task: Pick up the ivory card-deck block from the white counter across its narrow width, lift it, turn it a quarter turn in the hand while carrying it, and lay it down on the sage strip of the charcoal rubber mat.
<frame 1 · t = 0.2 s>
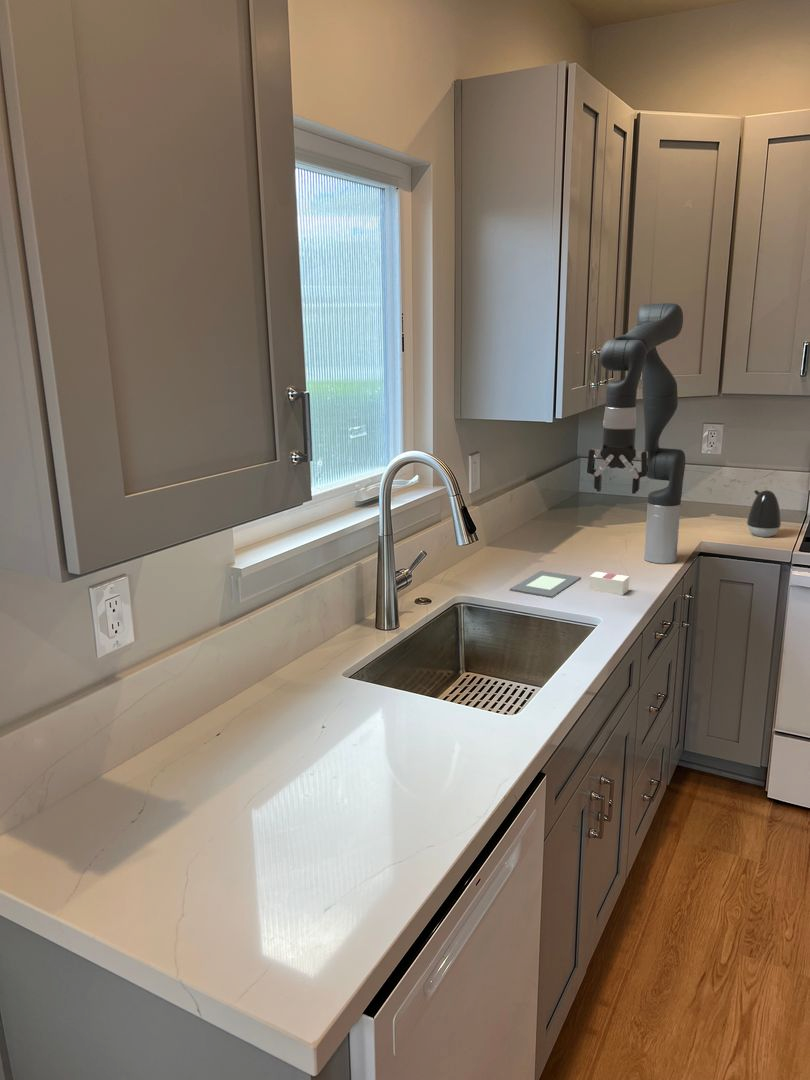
hand: (616, 492, 195), 28 cm above the worktop, tool pointing down, fingers open, 8 cm apart
mat: (546, 584, 215), on the worktop
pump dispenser: (762, 535, 265), on the worktop
card deck: (608, 590, 210), on the worktop
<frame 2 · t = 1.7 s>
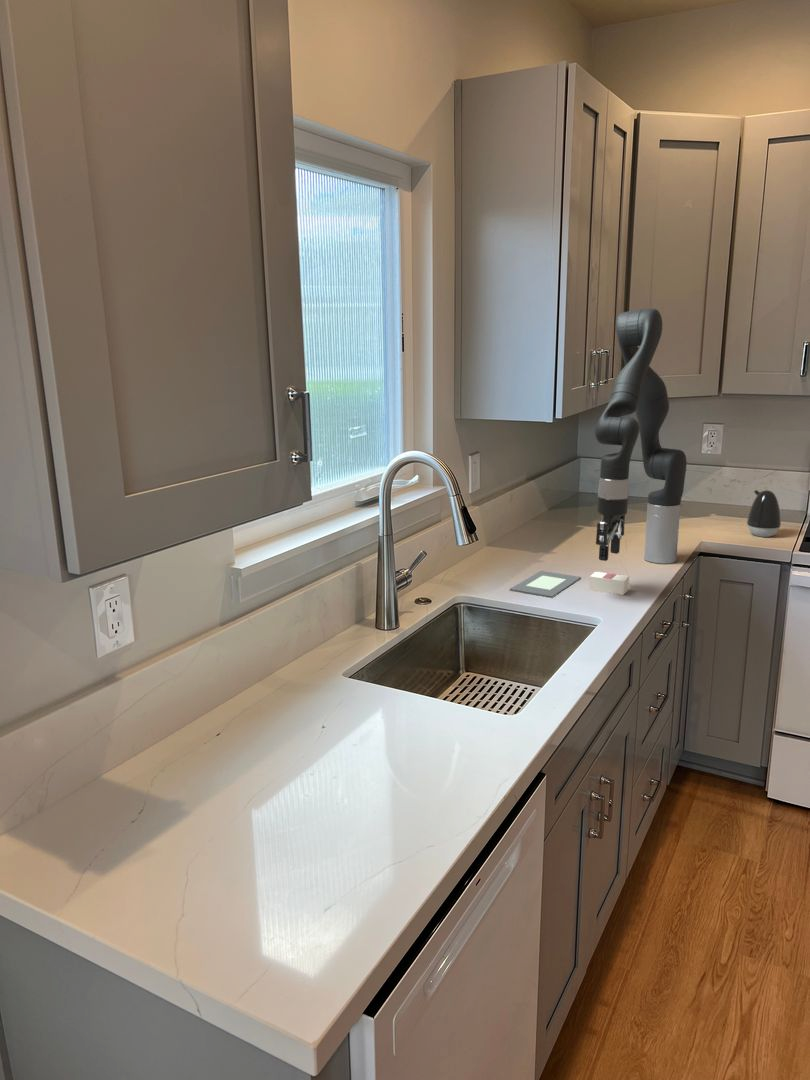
hand: (609, 556, 207), 9 cm above the worktop, tool pointing down, fingers open, 8 cm apart
nothing on the worktop moved.
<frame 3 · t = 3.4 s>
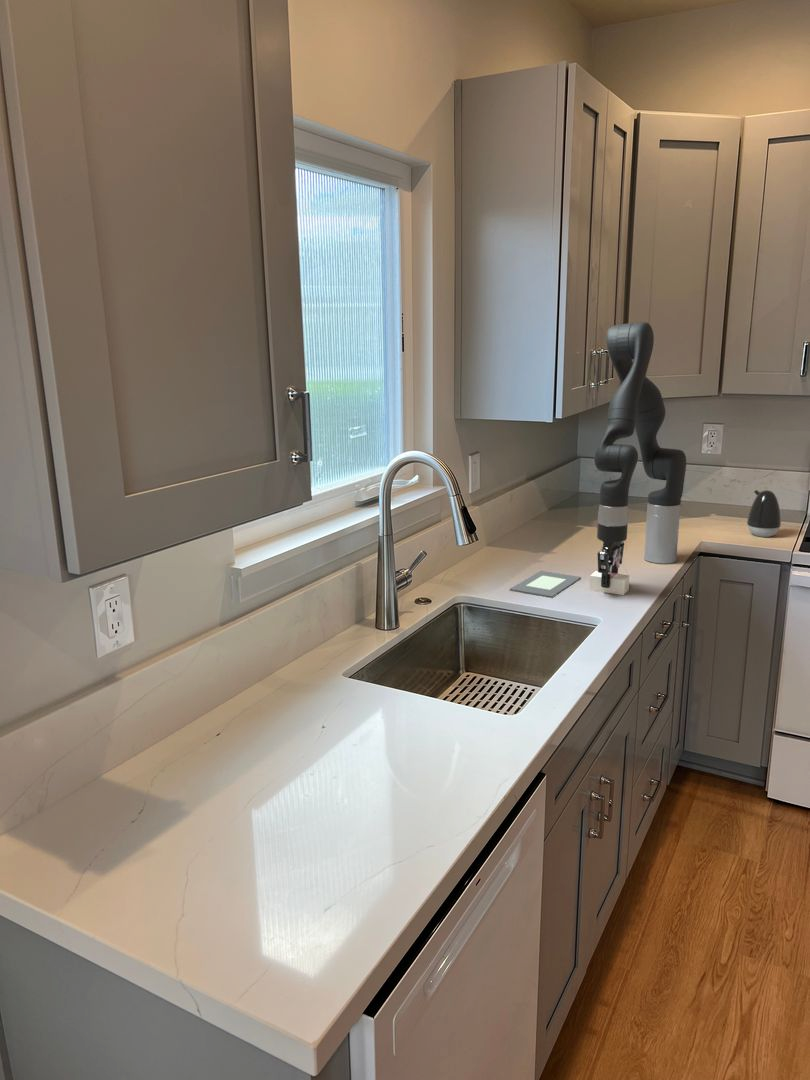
hand: (609, 584, 209), 2 cm above the worktop, tool pointing down, fingers closed on card deck, 5 cm apart
card deck: (609, 590, 210), on the worktop, touching gripper
everything else where it was.
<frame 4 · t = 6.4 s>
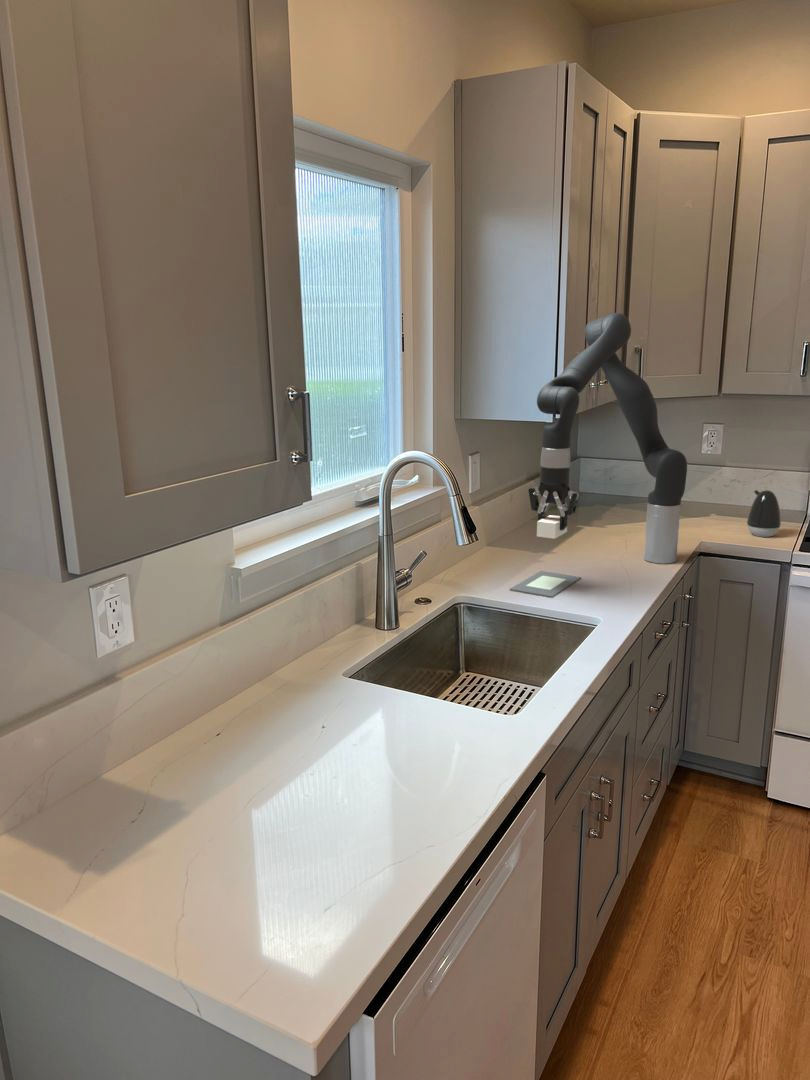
hand: (552, 528, 210), 16 cm above the worktop, tool pointing down, fingers closed on card deck, 5 cm apart
card deck: (551, 534, 211), point 14 cm above the worktop, touching gripper
everything else where it was.
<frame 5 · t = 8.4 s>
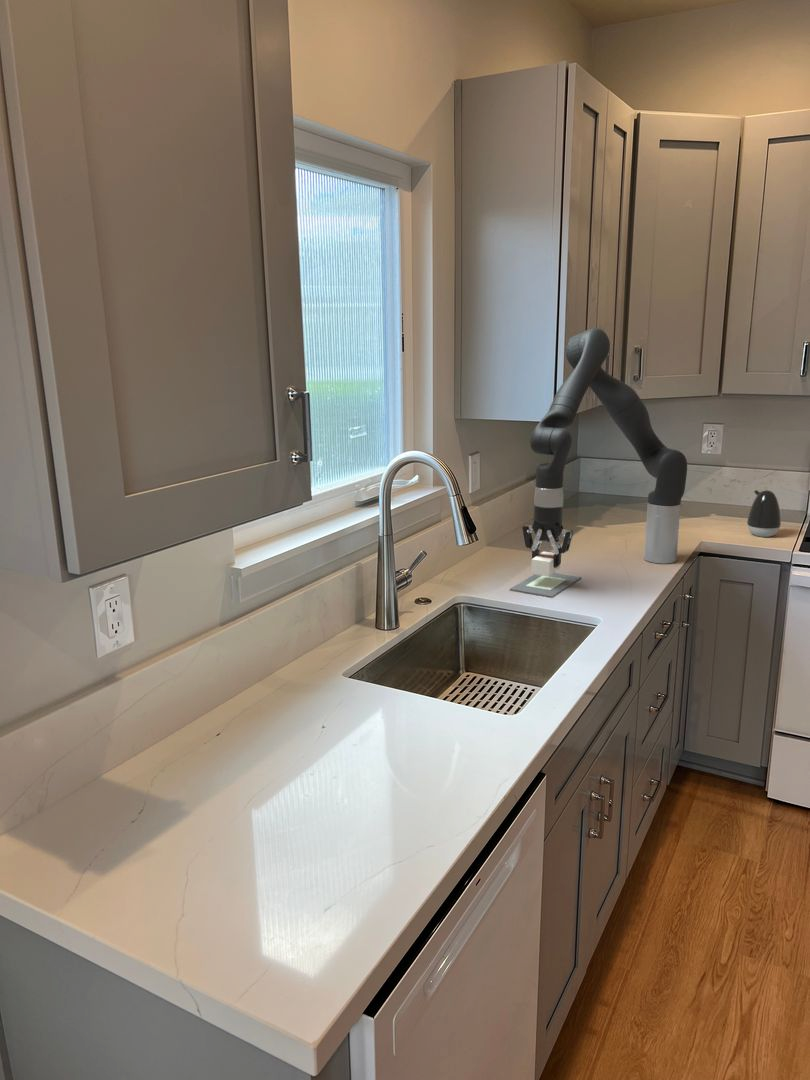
hand: (546, 565, 214), 5 cm above the worktop, tool pointing down, fingers closed on card deck, 5 cm apart
card deck: (545, 570, 214), point 4 cm above the worktop, touching gripper
everything else where it was.
when the fingers open (3 cm above the worktop, at t = 9.7 s): card deck drops 1 cm, resting on mat.
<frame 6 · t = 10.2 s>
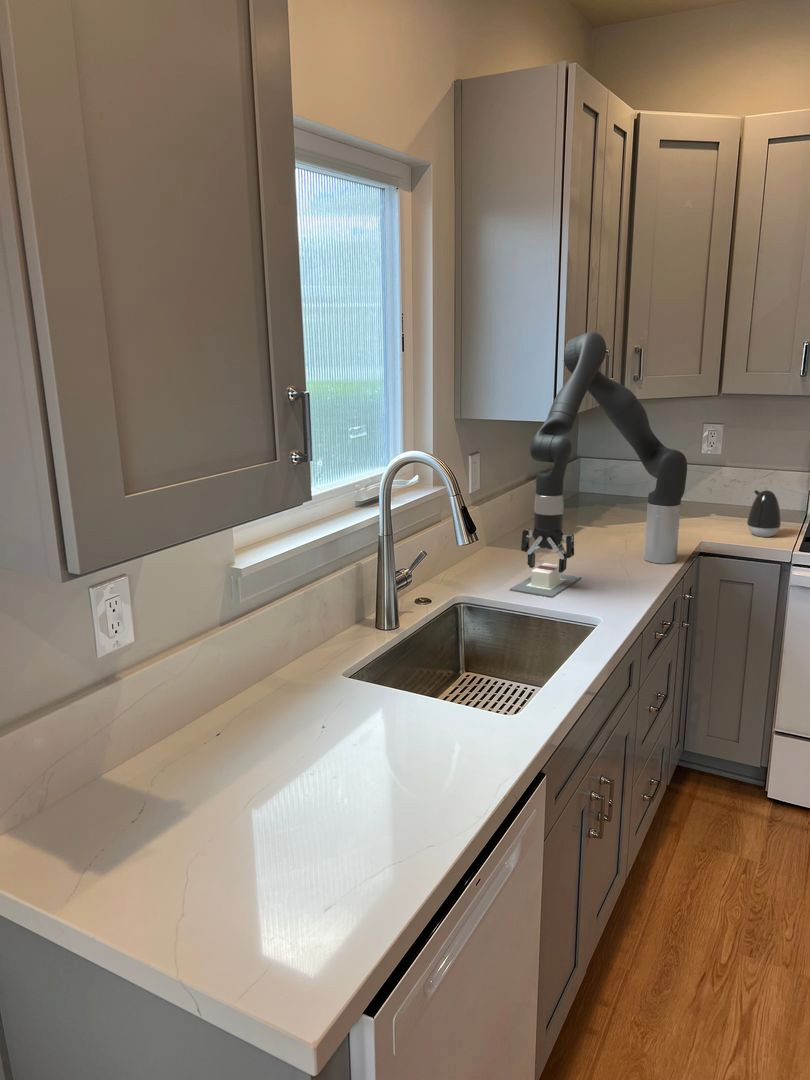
hand: (546, 569, 214), 4 cm above the worktop, tool pointing down, fingers open, 8 cm apart
card deck: (546, 582, 215), resting on mat
everything else where it was.
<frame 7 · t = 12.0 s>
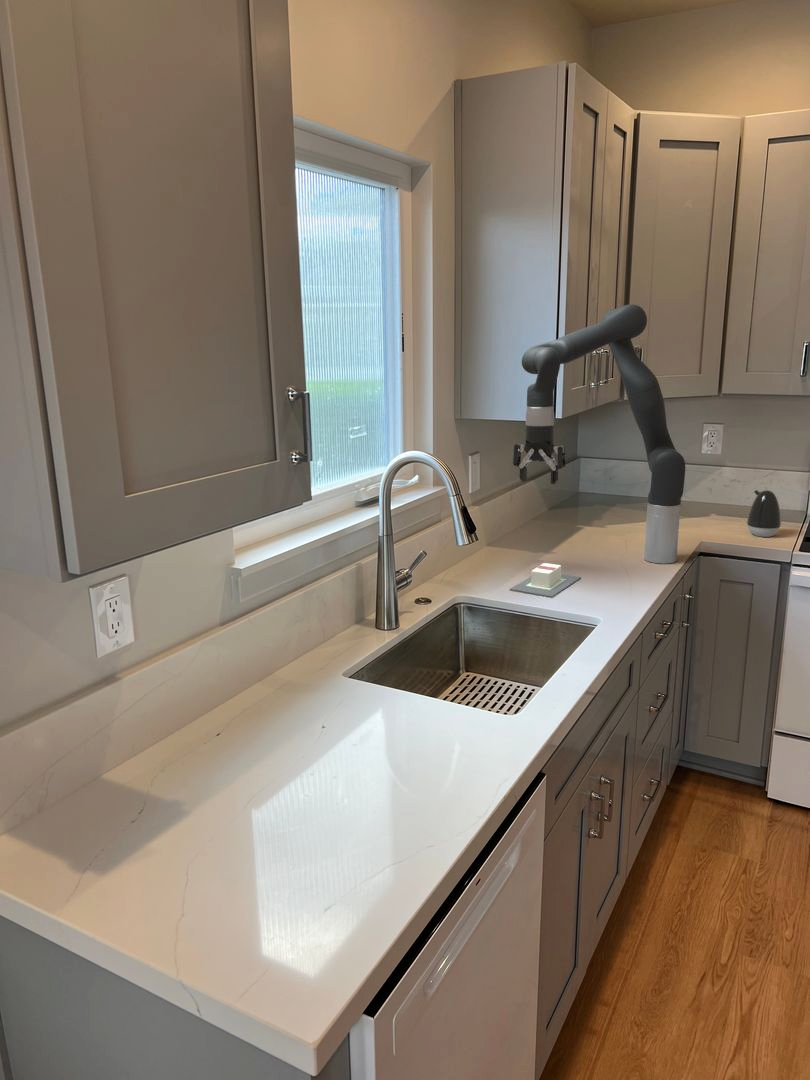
hand: (538, 482, 218), 26 cm above the worktop, tool pointing down, fingers open, 8 cm apart
nothing on the worktop moved.
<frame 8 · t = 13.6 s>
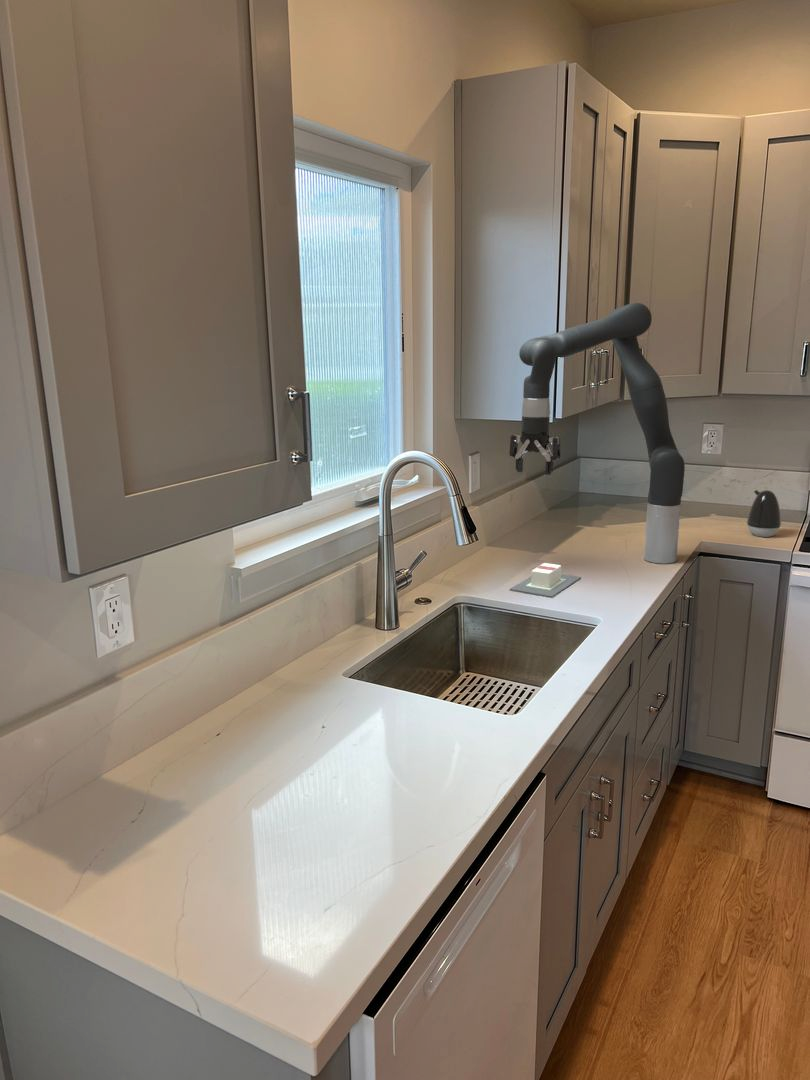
hand: (534, 473, 221), 28 cm above the worktop, tool pointing down, fingers open, 8 cm apart
nothing on the worktop moved.
at the end: card deck inside the target area (0.1 cm from its centre), point 0.5 cm above the worktop; card deck touching mat; card deck tilted 0° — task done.
